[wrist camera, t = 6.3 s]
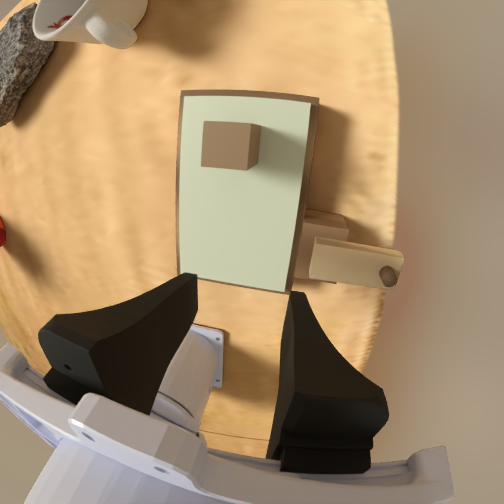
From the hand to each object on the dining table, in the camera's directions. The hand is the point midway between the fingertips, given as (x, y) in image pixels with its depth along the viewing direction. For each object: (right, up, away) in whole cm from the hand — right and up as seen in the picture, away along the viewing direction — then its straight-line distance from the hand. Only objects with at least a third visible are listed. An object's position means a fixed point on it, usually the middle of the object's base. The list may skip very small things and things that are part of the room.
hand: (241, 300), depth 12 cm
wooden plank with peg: (+7, +2, +5) cm, 9 cm away
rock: (-27, +25, +5) cm, 38 cm away
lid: (0, +6, +5) cm, 8 cm away
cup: (-10, +22, +3) cm, 25 cm away
